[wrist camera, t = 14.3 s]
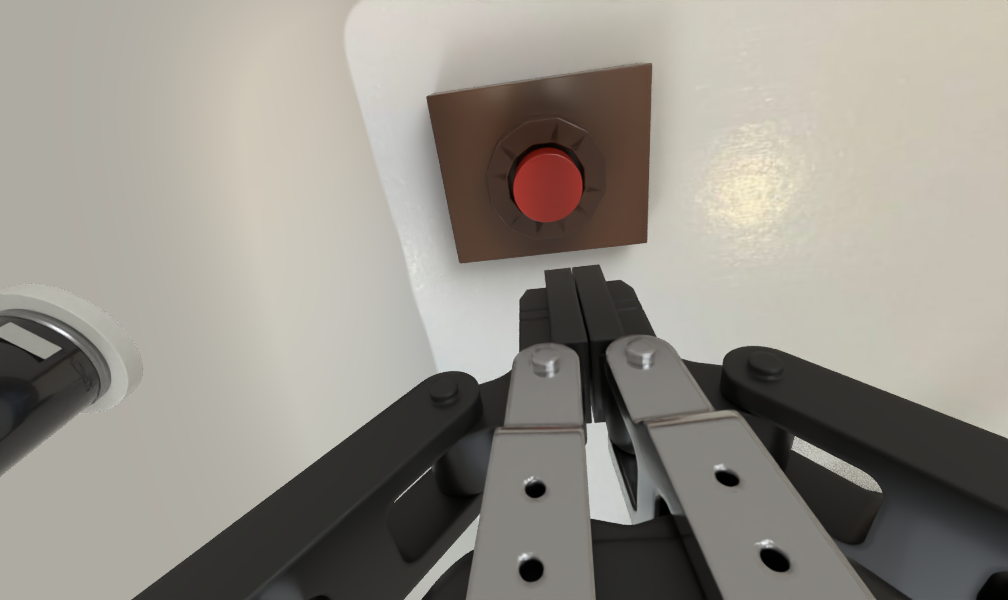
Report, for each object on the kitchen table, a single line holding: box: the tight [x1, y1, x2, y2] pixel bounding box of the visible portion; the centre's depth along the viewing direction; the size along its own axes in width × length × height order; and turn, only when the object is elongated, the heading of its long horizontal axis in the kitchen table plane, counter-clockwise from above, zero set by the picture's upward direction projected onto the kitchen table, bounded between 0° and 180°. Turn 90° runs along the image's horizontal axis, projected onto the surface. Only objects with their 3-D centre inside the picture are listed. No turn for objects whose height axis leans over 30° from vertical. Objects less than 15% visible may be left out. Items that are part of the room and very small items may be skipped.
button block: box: [426, 63, 652, 263], centre depth 25 cm, size 12×10×4 cm
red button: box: [513, 148, 583, 222], centre depth 23 cm, size 4×4×2 cm
